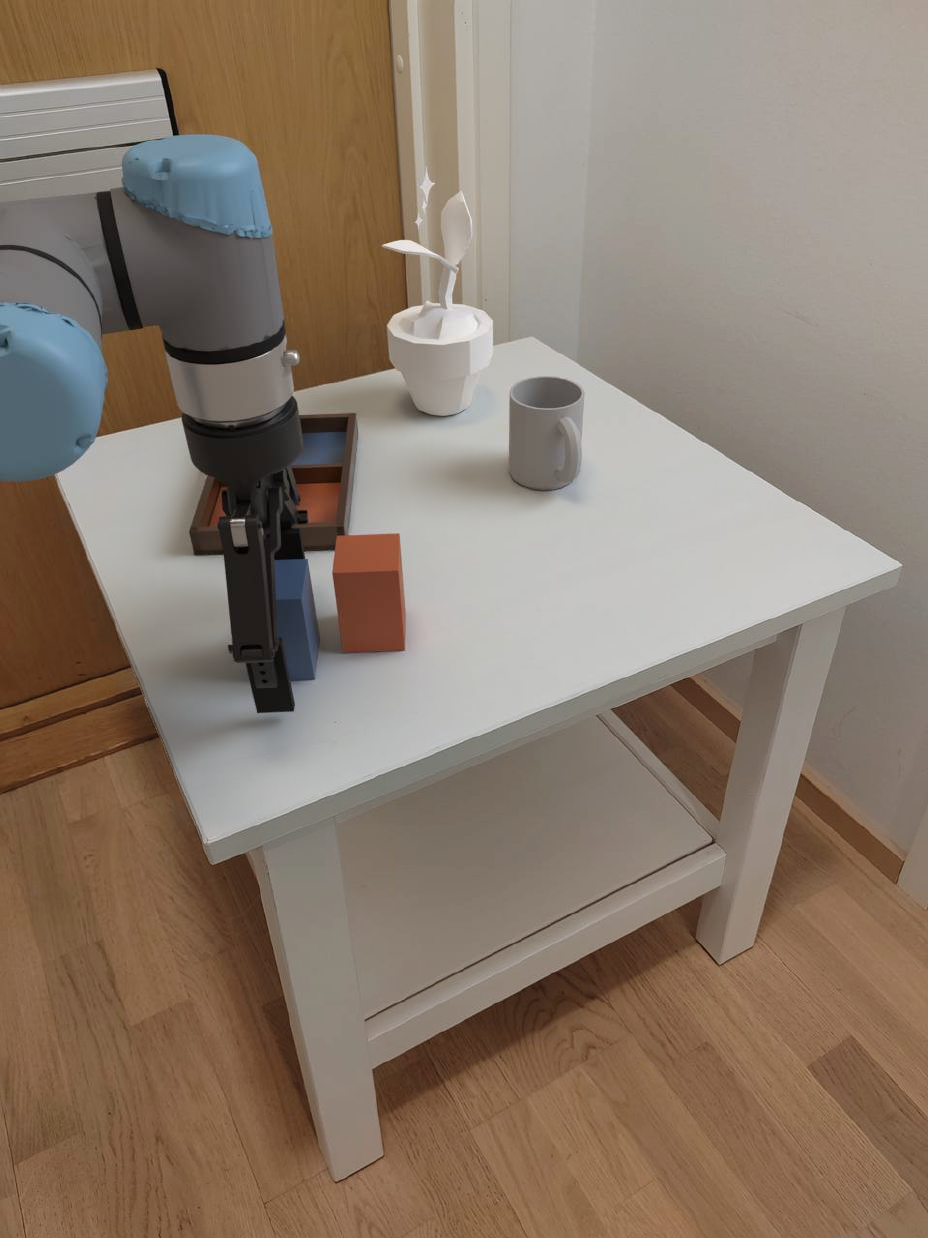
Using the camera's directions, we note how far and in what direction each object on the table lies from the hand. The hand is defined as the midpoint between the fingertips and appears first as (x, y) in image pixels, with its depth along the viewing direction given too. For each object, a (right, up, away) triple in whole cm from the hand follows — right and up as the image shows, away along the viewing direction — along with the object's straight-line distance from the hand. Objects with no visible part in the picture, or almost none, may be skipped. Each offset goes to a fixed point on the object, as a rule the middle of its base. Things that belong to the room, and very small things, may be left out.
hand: (286, 648), depth 75 cm
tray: (-4, +15, +21) cm, 26 cm away
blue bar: (0, -1, +1) cm, 1 cm away
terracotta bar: (+7, +1, +3) cm, 8 cm away
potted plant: (+11, +27, +34) cm, 45 cm away
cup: (+23, +16, +21) cm, 35 cm away
